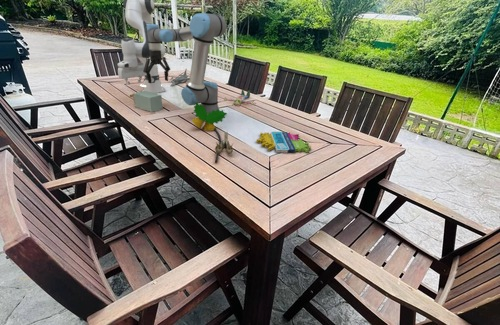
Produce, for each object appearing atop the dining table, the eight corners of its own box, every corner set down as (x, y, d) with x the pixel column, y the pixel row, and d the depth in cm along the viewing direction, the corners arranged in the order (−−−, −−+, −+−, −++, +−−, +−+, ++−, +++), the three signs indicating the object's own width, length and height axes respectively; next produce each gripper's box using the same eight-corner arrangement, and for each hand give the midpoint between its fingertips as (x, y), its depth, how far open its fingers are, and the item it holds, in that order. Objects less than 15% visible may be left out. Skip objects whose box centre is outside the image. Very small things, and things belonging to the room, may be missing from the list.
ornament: (218, 133, 171) (224, 110, 169) (221, 134, 163) (227, 111, 161) (186, 125, 162) (192, 101, 160) (189, 126, 155) (195, 101, 153)
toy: (261, 91, 228) (254, 99, 202) (261, 99, 231) (253, 108, 205) (231, 87, 233) (220, 95, 207) (230, 95, 236) (219, 104, 210)
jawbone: (234, 135, 144) (233, 125, 135) (233, 160, 138) (232, 151, 129) (217, 135, 144) (216, 125, 135) (216, 160, 138) (214, 150, 129)
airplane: (161, 78, 276) (160, 68, 271) (190, 77, 289) (190, 67, 284) (170, 88, 248) (168, 77, 243) (201, 85, 261) (201, 75, 256)
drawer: (129, 103, 195) (127, 92, 191) (139, 101, 202) (137, 90, 198) (149, 109, 185) (148, 98, 181) (159, 107, 192) (158, 95, 188)
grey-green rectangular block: (135, 107, 192) (133, 93, 187) (146, 104, 199) (144, 90, 194) (151, 112, 184) (150, 97, 179) (162, 108, 192) (161, 95, 187)
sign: (313, 150, 142) (258, 149, 139) (312, 153, 143) (258, 152, 140) (301, 132, 164) (254, 130, 161) (301, 134, 165) (254, 133, 162)
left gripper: (140, 61, 193) (143, 80, 200) (115, 64, 177) (118, 84, 184) (146, 62, 190) (148, 82, 197) (120, 65, 175) (124, 86, 181)
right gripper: (167, 48, 188) (169, 78, 198) (134, 49, 170) (139, 83, 181) (173, 49, 184) (176, 80, 194) (141, 51, 166) (145, 85, 177)
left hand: (134, 83), depth 190 cm, fingers open, 8 cm apart
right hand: (158, 81), depth 187 cm, fingers open, 13 cm apart
